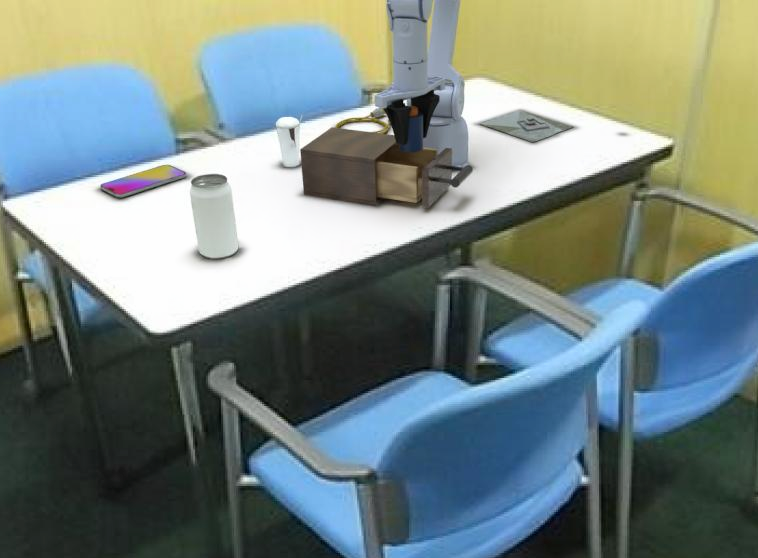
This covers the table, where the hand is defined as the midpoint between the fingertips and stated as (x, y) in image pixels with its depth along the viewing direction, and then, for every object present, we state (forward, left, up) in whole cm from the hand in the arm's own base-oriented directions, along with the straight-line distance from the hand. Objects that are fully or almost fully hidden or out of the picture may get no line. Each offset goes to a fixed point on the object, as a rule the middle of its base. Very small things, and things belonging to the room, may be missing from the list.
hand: (411, 139), depth 165 cm
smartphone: (+44, -27, -10) cm, 52 cm away
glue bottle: (0, 0, -2) cm, 2 cm away
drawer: (-1, +1, -10) cm, 10 cm away
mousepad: (-40, -21, -11) cm, 46 cm away
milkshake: (+15, -24, -11) cm, 30 cm away
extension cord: (-6, -38, -11) cm, 40 cm away
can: (+37, +8, -11) cm, 39 cm away
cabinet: (+8, -8, -10) cm, 16 cm away
